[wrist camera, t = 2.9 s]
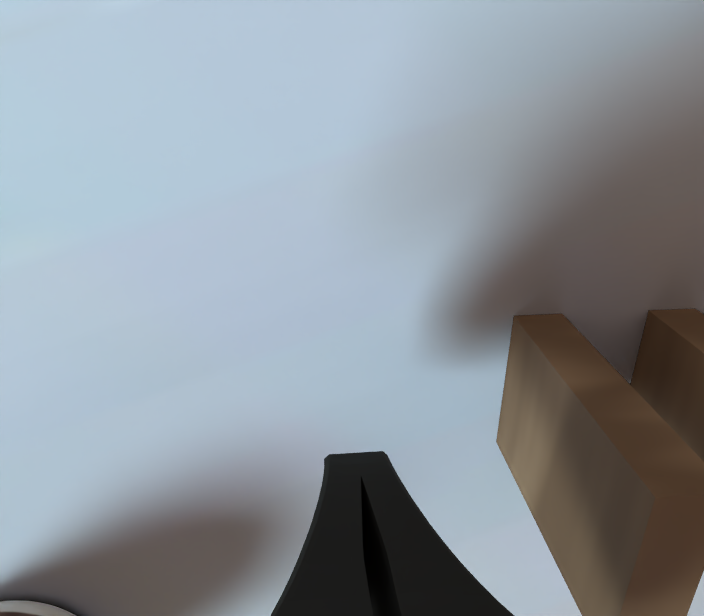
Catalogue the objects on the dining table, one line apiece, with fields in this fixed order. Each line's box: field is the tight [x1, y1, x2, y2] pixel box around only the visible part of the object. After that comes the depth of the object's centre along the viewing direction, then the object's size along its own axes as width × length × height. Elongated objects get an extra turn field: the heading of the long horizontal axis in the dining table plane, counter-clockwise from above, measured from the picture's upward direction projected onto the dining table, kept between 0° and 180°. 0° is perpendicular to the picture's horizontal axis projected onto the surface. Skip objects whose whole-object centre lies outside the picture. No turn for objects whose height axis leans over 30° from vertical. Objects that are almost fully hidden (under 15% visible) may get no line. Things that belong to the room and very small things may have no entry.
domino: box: [496, 314, 704, 616], centre depth 14 cm, size 1×4×7 cm, turn 0°
